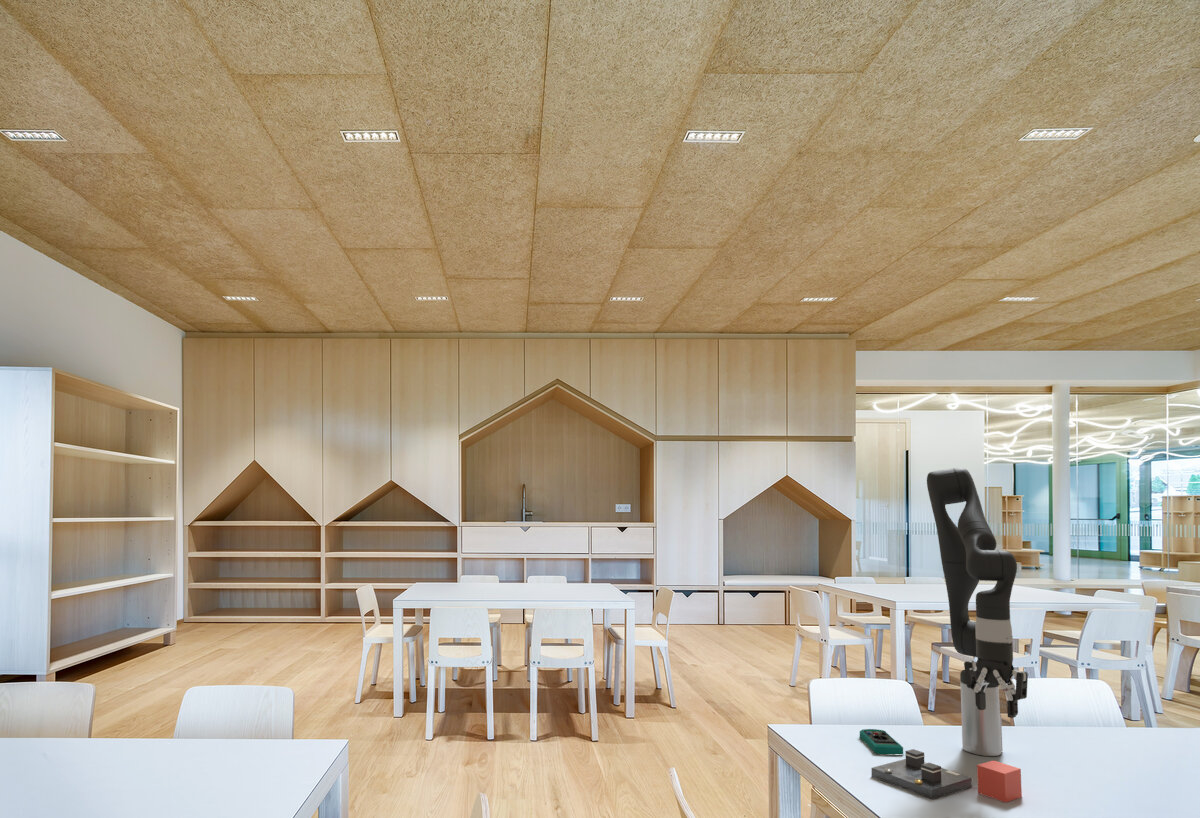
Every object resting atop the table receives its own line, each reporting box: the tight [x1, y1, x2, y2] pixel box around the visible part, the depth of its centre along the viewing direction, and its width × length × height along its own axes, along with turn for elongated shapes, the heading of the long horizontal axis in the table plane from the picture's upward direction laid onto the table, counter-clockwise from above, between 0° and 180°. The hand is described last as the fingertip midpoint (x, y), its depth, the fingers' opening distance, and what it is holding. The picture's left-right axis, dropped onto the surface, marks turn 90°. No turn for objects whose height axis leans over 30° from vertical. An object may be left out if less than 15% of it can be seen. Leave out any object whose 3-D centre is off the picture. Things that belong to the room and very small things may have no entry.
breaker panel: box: [871, 758, 973, 800], centre depth 180 cm, size 15×16×3 cm
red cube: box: [976, 760, 1023, 803], centre depth 173 cm, size 6×6×6 cm
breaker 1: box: [905, 748, 925, 768], centre depth 186 cm, size 3×3×3 cm
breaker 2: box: [921, 762, 942, 783], centre depth 176 cm, size 3×3×3 cm
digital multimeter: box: [859, 728, 904, 755], centre depth 207 cm, size 7×15×3 cm, turn 178°
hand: (996, 713), depth 175 cm, fingers open, 6 cm apart
